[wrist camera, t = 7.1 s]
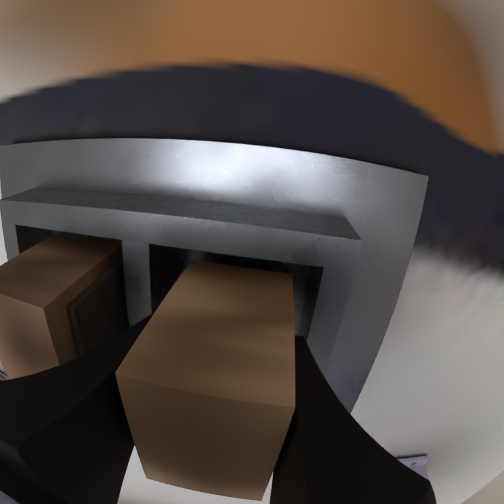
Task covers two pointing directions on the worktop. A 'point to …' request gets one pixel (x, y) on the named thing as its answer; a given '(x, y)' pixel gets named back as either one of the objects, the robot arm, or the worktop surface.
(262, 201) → the board
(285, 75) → the worktop surface
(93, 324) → the brown wooden block
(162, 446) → the oak block
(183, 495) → the worktop surface
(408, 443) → the worktop surface
